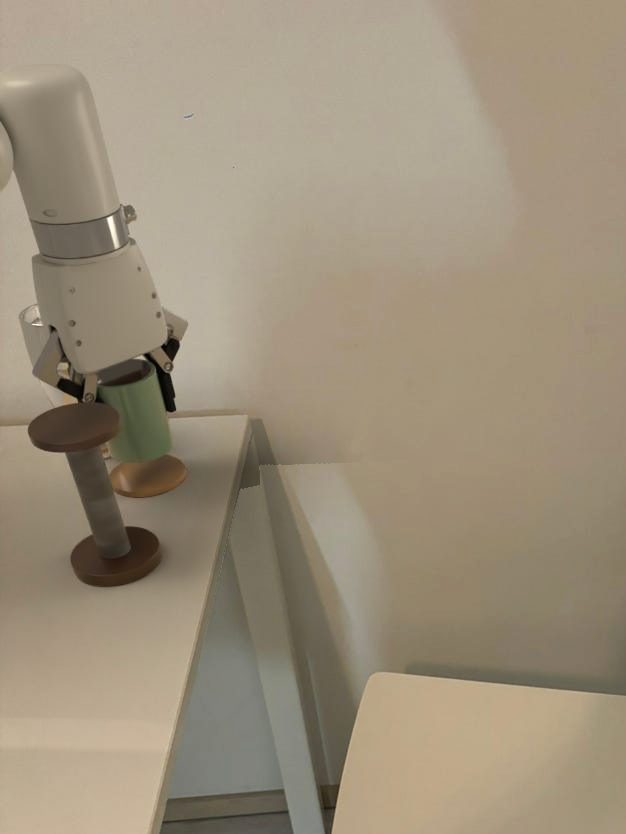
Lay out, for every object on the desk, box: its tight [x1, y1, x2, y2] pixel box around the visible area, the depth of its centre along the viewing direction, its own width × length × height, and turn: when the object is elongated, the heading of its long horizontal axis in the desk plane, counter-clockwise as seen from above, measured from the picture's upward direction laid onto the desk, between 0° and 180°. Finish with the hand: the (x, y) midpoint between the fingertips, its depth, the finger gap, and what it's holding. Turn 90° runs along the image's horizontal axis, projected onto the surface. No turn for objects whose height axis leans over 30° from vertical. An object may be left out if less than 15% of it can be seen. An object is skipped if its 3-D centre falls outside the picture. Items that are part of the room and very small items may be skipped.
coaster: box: [109, 454, 187, 498], centre depth 97 cm, size 8×8×1 cm
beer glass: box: [18, 303, 112, 460], centre depth 97 cm, size 7×7×15 cm
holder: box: [27, 402, 163, 587], centre depth 81 cm, size 8×8×14 cm
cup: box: [96, 358, 175, 463], centre depth 92 cm, size 6×6×8 cm
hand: (134, 419), depth 93 cm, fingers closed on cup, 6 cm apart
